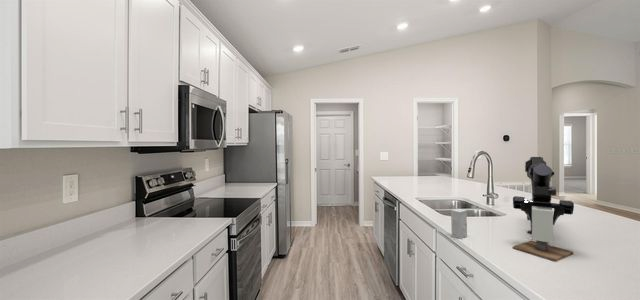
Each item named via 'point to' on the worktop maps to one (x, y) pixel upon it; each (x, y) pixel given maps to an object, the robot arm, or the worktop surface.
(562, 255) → the flat brown board
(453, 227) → the skincare box
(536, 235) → the pale green box
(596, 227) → the worktop surface
